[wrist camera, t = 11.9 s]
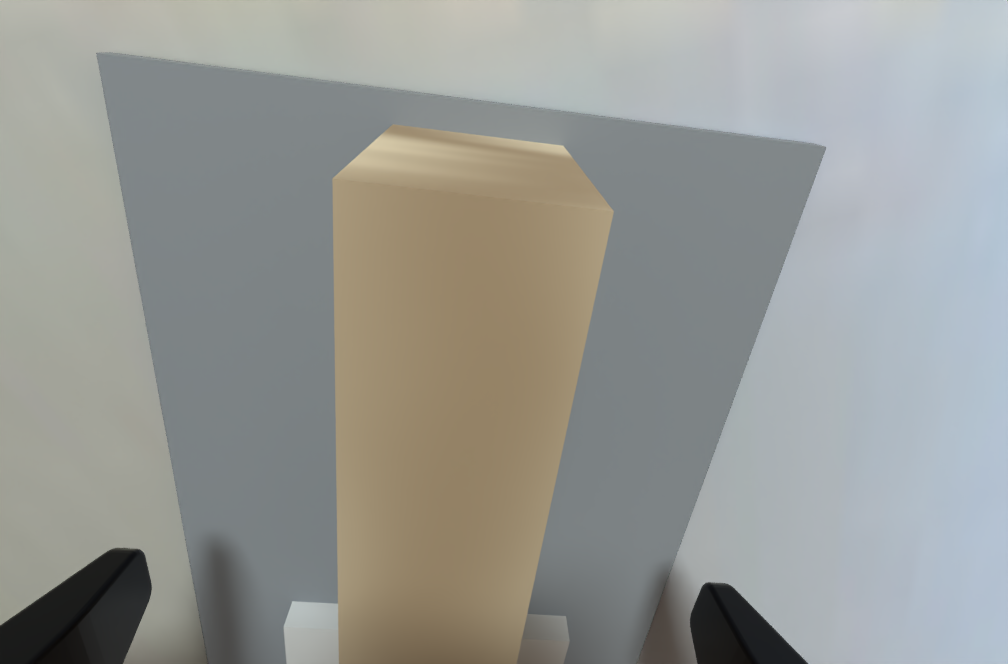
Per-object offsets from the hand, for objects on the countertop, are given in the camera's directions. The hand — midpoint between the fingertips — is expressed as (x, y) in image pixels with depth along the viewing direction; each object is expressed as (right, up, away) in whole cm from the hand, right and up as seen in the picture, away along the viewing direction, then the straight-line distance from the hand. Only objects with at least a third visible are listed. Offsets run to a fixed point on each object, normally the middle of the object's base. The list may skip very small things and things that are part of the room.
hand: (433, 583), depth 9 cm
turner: (0, 0, +2) cm, 2 cm away
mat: (0, 0, +3) cm, 3 cm away
